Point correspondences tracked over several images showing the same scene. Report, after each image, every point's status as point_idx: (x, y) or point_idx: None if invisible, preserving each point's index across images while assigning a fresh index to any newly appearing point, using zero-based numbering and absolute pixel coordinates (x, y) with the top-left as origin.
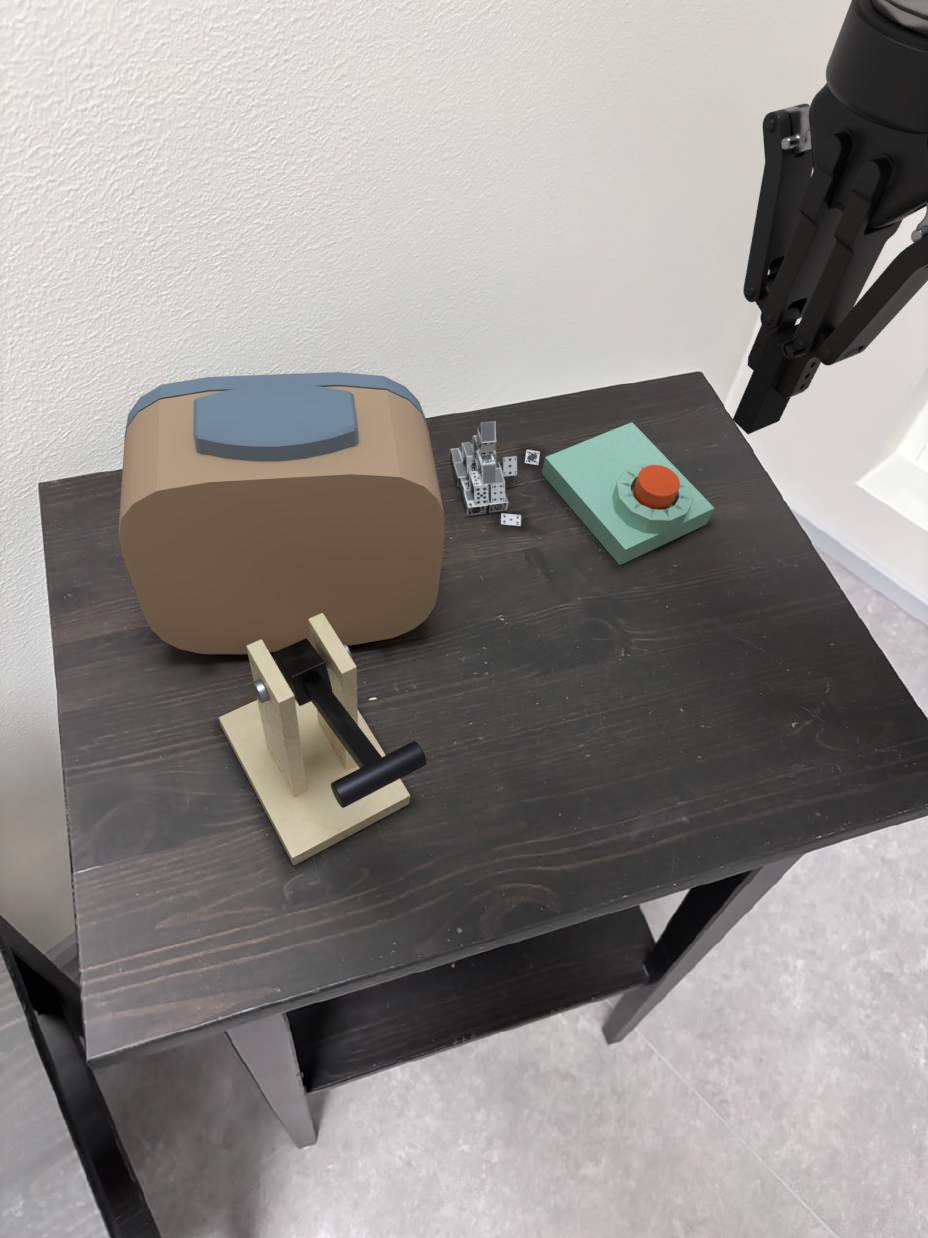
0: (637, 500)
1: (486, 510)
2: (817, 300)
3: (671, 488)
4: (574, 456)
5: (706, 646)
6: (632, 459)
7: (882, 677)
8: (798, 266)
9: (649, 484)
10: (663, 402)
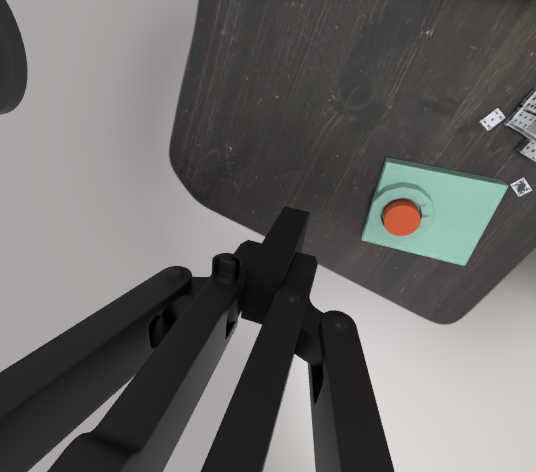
0: None
1: (520, 104)
2: (196, 332)
3: (388, 221)
4: (484, 205)
5: (298, 151)
6: (439, 235)
7: (223, 213)
8: (244, 376)
9: (405, 212)
10: (458, 301)
